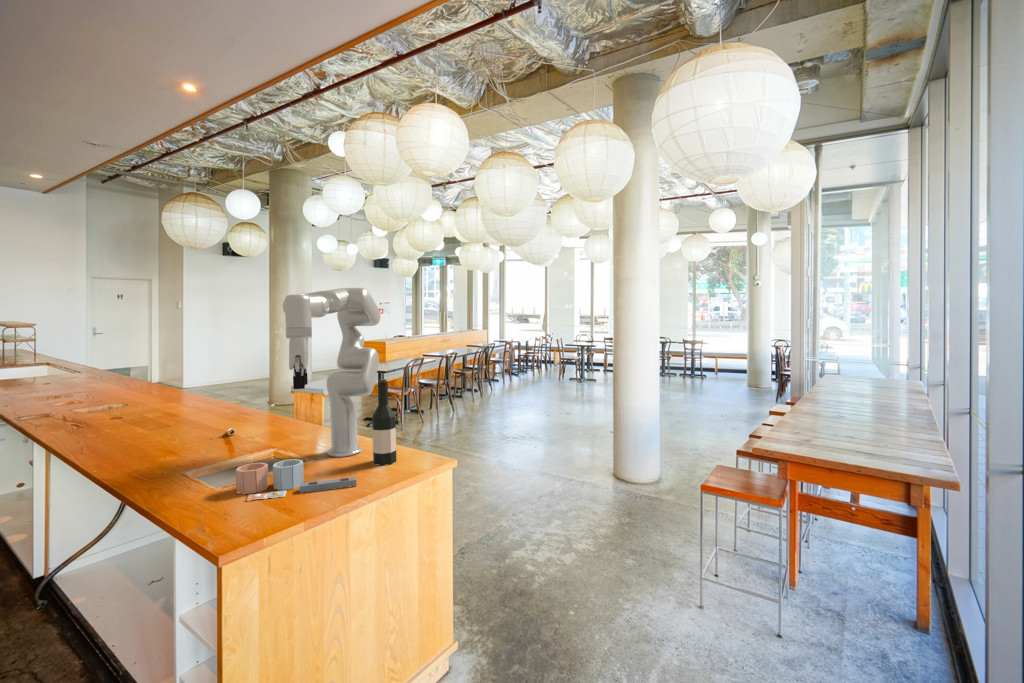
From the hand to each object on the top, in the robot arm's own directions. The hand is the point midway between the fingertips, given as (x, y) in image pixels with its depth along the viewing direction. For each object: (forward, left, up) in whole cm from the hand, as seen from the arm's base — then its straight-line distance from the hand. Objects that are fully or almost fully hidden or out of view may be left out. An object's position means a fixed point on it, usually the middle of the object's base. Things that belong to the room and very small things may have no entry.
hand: (300, 386), depth 149 cm
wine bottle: (-10, +26, -31) cm, 41 cm away
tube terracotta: (+4, -14, -30) cm, 34 cm away
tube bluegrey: (+4, -4, -30) cm, 31 cm away
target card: (+12, -9, -30) cm, 34 cm away
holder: (+11, +8, -30) cm, 33 cm away
